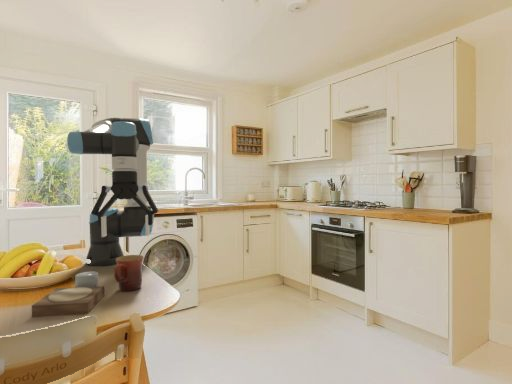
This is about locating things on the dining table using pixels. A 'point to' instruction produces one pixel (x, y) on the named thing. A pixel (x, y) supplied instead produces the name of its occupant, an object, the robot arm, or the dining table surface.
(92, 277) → the grey rounded block
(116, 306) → the dining table surface
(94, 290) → the base slab
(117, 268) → the mug
